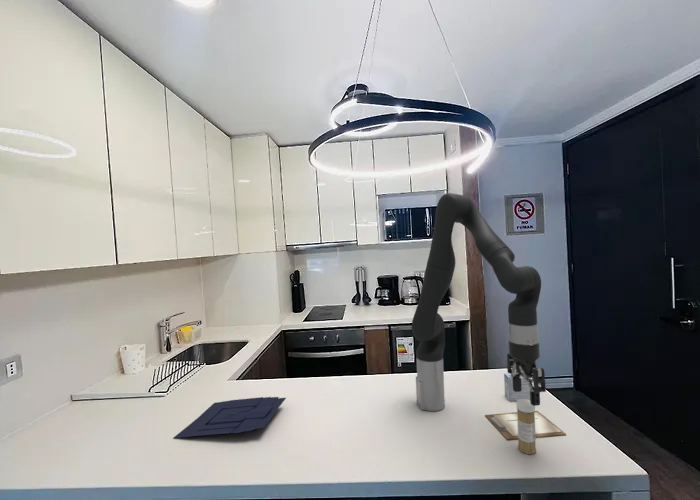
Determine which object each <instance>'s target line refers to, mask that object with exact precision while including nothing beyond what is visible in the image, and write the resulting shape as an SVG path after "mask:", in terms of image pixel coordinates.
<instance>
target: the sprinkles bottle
mask: <svg viewBox="0 0 700 500" xmlns="http://www.w3.org/2000/svg"><path fill="white" fill-rule="evenodd" d="M515 403H516V405H515V407H516V410H517V416H518V439H517V443H518V445H517V448H518V450H519V451H520V452H522V453H524V454H527V455H533V454H536V452H537V448H536V439H537V438H536V436H535V416H534V412H535V411H536V406H533V405H531V403H530V400H528V399H518V400H517V401H515Z"/></svg>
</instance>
